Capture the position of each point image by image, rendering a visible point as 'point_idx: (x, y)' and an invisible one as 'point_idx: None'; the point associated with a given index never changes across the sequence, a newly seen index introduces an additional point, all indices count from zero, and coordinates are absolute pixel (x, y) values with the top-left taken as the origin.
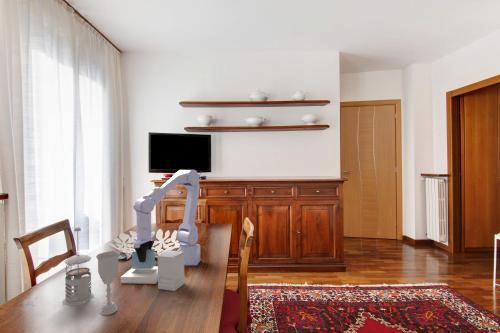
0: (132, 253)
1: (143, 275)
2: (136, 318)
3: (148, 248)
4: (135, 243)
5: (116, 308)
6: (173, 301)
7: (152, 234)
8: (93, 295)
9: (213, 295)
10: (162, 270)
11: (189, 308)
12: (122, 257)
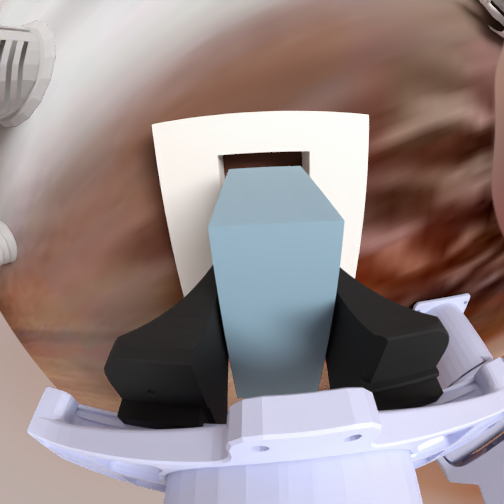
0: (211, 221)
1: (199, 256)
2: (22, 319)
3: (332, 360)
4: (41, 437)
5: (10, 261)
6: None
7: (476, 436)
8: (31, 108)
9: None
10: None
11: (102, 394)
12: (489, 9)
